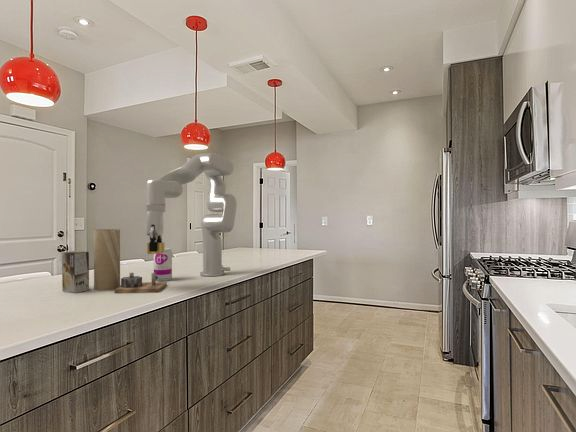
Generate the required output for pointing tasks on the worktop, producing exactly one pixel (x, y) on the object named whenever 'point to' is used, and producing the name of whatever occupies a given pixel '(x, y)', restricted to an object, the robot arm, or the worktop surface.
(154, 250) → the robot arm
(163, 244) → the brass gear
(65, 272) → the coffee box
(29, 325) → the worktop surface
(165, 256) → the supplement can
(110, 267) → the tube
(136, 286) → the gear board
